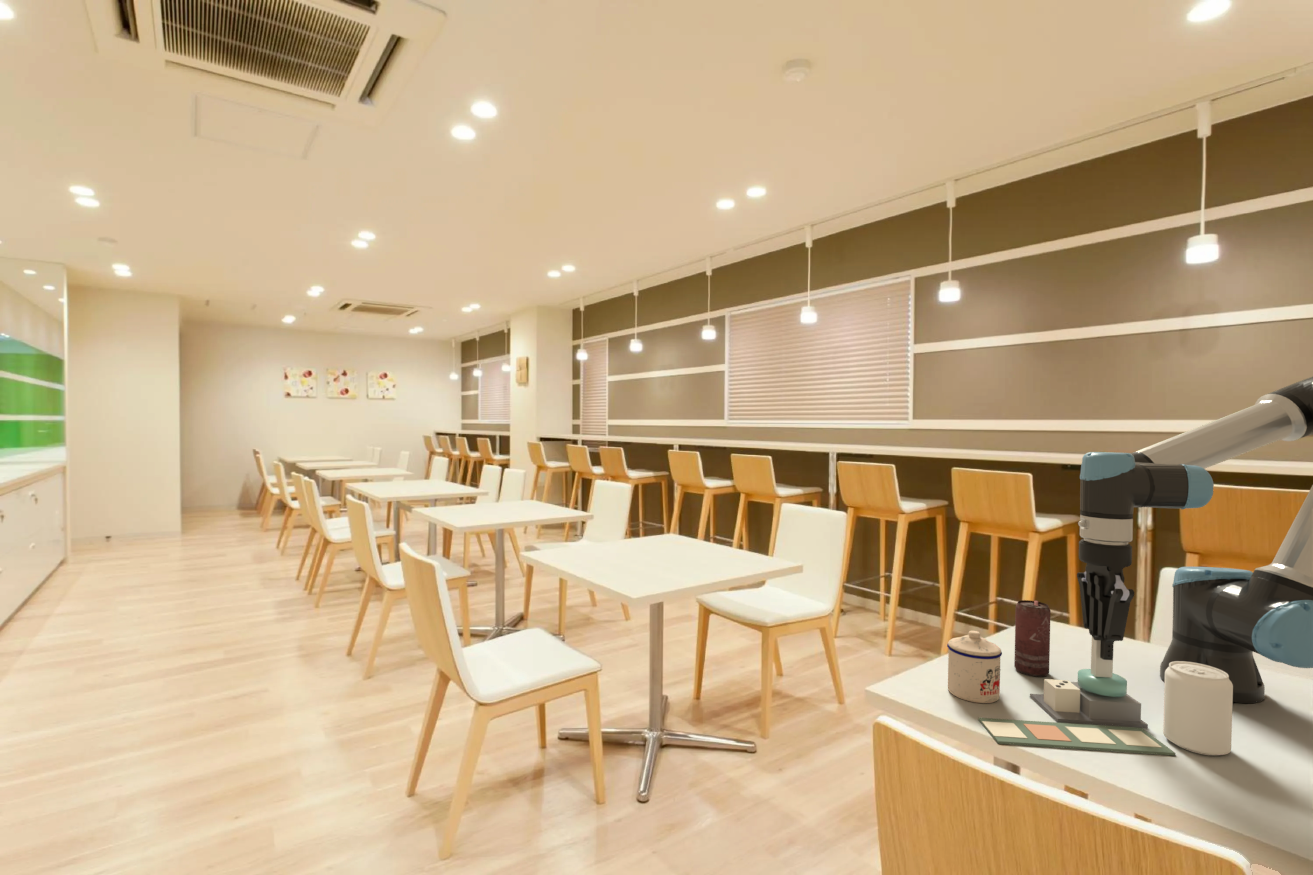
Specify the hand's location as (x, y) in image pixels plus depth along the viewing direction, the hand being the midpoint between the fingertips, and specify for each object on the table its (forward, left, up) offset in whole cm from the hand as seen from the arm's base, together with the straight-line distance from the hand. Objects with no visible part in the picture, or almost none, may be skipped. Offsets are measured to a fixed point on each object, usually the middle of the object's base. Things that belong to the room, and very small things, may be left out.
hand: (1101, 675), depth 110 cm
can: (+3, -18, -7) cm, 20 cm away
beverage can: (-9, +10, -7) cm, 15 cm away
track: (+10, +10, -7) cm, 15 cm away
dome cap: (0, 0, -5) cm, 5 cm away
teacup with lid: (+18, -6, -7) cm, 21 cm away
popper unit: (+2, 0, -7) cm, 7 cm away
